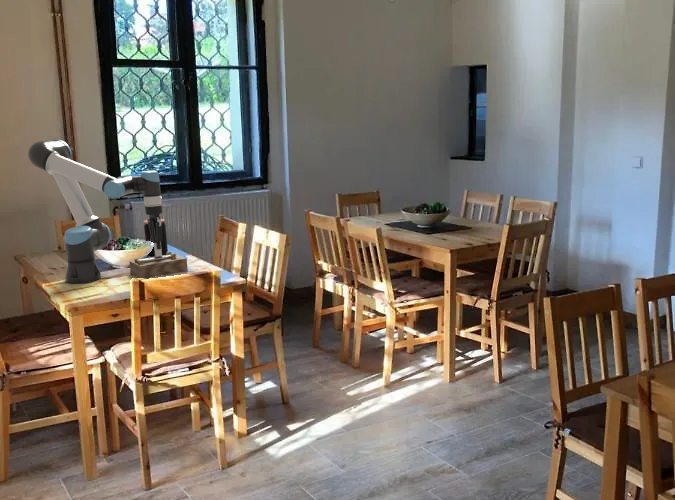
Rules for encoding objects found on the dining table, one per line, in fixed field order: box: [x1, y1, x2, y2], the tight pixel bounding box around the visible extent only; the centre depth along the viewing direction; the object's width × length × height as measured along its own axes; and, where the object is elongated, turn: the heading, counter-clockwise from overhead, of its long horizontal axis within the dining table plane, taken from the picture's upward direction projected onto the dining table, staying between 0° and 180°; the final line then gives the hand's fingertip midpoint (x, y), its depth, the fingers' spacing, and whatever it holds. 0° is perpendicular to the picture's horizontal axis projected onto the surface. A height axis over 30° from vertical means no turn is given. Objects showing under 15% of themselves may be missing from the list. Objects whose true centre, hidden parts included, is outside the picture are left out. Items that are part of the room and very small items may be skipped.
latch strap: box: [136, 253, 172, 262], centre depth 326 cm, size 17×3×2 cm, turn 126°
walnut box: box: [129, 251, 188, 279], centre depth 328 cm, size 22×14×8 cm, turn 126°
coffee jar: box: [143, 218, 169, 258], centre depth 364 cm, size 11×11×18 cm
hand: (158, 255), depth 327 cm, fingers closed
